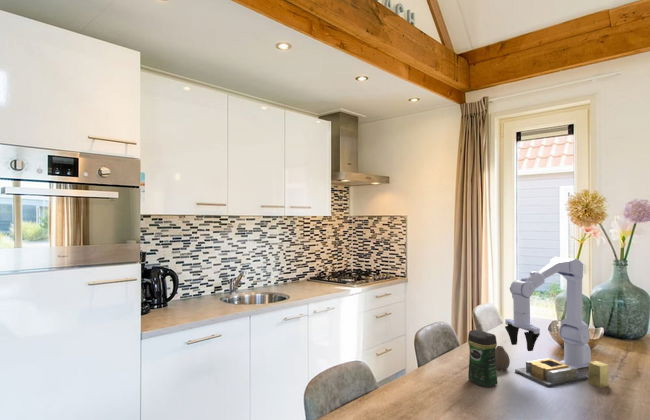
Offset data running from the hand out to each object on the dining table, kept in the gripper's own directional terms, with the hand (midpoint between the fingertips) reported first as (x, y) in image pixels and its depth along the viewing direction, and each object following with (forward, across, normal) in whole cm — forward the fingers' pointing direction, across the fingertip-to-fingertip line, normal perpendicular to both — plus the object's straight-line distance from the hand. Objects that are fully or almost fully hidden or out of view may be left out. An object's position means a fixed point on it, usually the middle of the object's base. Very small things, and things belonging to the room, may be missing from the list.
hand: (522, 347), depth 154 cm
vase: (+10, -7, -4) cm, 13 cm away
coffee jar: (+10, +1, -20) cm, 23 cm away
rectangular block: (+10, +17, +18) cm, 27 cm away
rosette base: (+10, +5, +9) cm, 14 cm away
